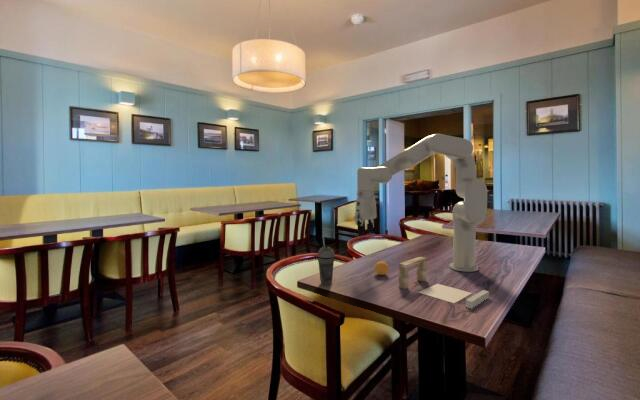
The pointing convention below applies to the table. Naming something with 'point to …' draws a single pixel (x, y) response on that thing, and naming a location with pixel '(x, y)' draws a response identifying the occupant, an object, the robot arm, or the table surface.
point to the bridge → (405, 268)
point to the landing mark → (445, 293)
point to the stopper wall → (477, 299)
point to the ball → (381, 268)
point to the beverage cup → (326, 264)
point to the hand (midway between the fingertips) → (365, 232)
